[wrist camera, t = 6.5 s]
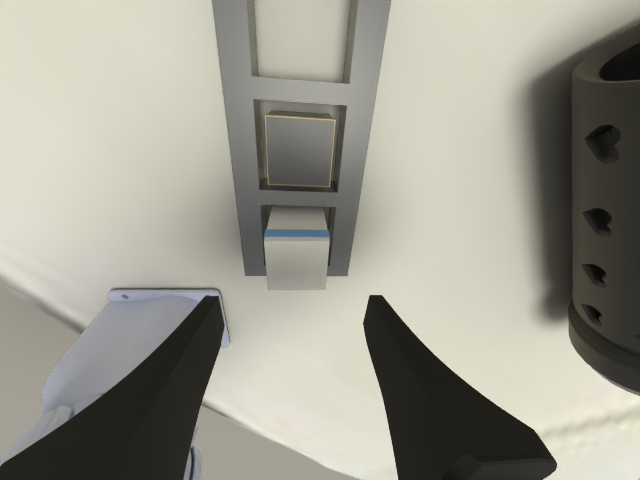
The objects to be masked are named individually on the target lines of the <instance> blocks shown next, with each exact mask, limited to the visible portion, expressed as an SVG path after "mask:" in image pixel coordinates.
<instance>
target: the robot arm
mask: <svg viewBox="0 0 640 480" xmlns="http://www.w3.org/2000/svg"><path fill="white" fill-rule="evenodd" d="M207 294H208V295H207ZM209 295H210V296H209ZM107 297H108V299H109V301H110V302H109V303H108V304H107V305H106V306H105V308H104V309H103V310H102V311H101V312H100V313H99V314H98V316H97V317H96V318H95V319H94V320H93V321H92V322H91V324H90V325H89V326H88V327H87V328H86V329H85V330H84V332H83V333H82V334H81V335H80V336H79V337H78V338H77V340H76V341H75V342H74V343H73V344H72V345H71V346H70V348H69V349H68V350H67V351H66V352H65V353H64V354H63V356H62V357H61V358H60V359H59V361H58V362H57V363H56V365H55V366H54V368H53V370H52V371H51V373H50V375H49V377H48V379H47V382H46V384H45V387H44V390H43V394H42V400H41V404H42V412H43V415H41V416H39V417H38V418H37V419H36V420H35V421H34V422H33V423H32V424H31V425H30V426H29V427H28V428H27V429H26V431H25V432H24V433H23V434H22V435H21V436H20V437H19V438H18V440H17V441H16V442H15V443H14V444H13V445H12V447H11V448H10V449H9V450H8V451H7V452H6V453H5V455H4V456H3V457H2V458H1V459H0V480H202V477H203V466H202V454H201V450H200V448H199V447H198V446H197V445H196V444H194V440H195V436H196V432H197V429H198V427H197V426H196V422H197V417H198V413H199V409H200V406H201V403H202V399H203V396H204V393H205V390H206V387H207V384H208V382H209V379H210V376H211V373H212V370H213V367H214V364H215V361H216V358H217V355H218V352H219V349H220V348H225V347H228V346H229V344H230V340H229V335H228V330H227V325H226V320H225V315H224V310H223V305H222V300H221V295H220V292H219V291H217V290H110V291H109V292H108V293H107ZM363 325H364V331H365V337H366V342H367V346H368V349H369V353H370V356H371V359H372V363H373V366H374V369H375V373H376V376H377V379H378V382H379V386H380V389H381V393H382V396H383V400H384V405H385V410H386V415H387V419H388V424H389V430H390V435H391V440H392V445H393V451H394V456H395V462H396V468H397V474H398V480H543V479H544V478H546V477H547V476H549V475H551V474H552V473H553V472H554V471H555V470H556V468H557V463H556V461H555V459H554V458H553V456H552V455H551V453H550V452H549V450H548V449H547V448H546V446H545V445H544V443H543V442H542V440H541V439H540V437H539V436H538V435H537V433H536V432H535V431H534V430H533V429H532V428H530V427H529V426H527V425H526V424H524V423H523V422H521V421H520V420H518V419H517V418H515V417H513V416H512V415H510V414H509V413H507V412H506V411H504V410H503V409H501V408H500V407H498V406H497V405H496V404H494V403H493V402H492V401H490V400H489V399H487V398H486V397H485V396H483V395H482V394H481V393H479V392H478V391H477V390H475V389H474V388H473V387H471V386H470V385H469V384H468V383H466V382H465V381H464V380H463V379H461V378H460V377H459V376H458V375H457V374H455V373H454V372H453V371H452V370H451V369H449V368H448V367H447V366H446V365H445V364H444V363H443V362H442V361H441V360H440V359H438V358H437V357H436V356H435V355H434V354H433V353H432V352H431V351H430V350H429V349H428V348H427V347H426V346H425V345H424V344H423V343H422V342H421V341H420V340H419V339H418V337H417V336H416V335H415V334H414V333H413V332H412V331H411V330H410V329H409V327H408V326H407V325H406V324H405V323H404V322H403V321H402V319H401V318H400V317H399V316H398V315H397V313H396V312H395V311H394V310H393V308H392V307H391V306H390V305H389V303H388V302H387V301H386V300H385V298H384V297H383V296H382V295H370V296H369V300H368V305H367V309H366V313H365V318H364V322H363Z"/></svg>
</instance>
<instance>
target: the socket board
mask: <svg viewBox="0 0 640 480" xmlns="http://www.w3.org/2000/svg"><path fill="white" fill-rule="evenodd" d="M212 4H213V13H214V21H215V29H216V38H217V46H218V54H219V62H220V71H221V79H222V87H223V95H224V104H225V112H226V120H227V128H228V137H229V145H230V153H231V162H232V170H233V178H234V186H235V195H236V203H237V211H238V219H239V228H240V236H241V244H242V253H243V261H244V269H245V276H267V273H266V260H265V248H264V234H265V229H267V225H266V207H265V205H288V206H320V207H331V212H330V222H329V235H330V240H329V241H330V242H329V254H328V266H327V276H347V275H348V268H349V262H350V256H351V249H352V243H353V237H354V231H355V224H356V218H357V212H358V205H359V199H360V193H361V187H362V180H363V174H364V168H365V161H366V155H367V149H368V143H369V136H370V130H371V124H372V117H373V111H374V105H375V99H376V92H377V86H378V80H379V73H380V67H381V61H382V55H383V48H384V42H385V36H386V29H387V23H388V17H389V11H390V4H391V0H351V4H350V14H349V24H348V35H347V45H346V56H345V66H344V76H343V83H331V82H318V81H306V80H293V79H280V78H267V77H258V61H257V43H256V25H255V7H254V0H212ZM260 100H274V101H288V102H302V103H317V104H331V105H341V108H340V118H339V128H338V139H337V149H336V160H335V170H334V181H330V179H331V168H332V157H333V146H334V134H335V123H336V119H333V118H332V117H331V116H330V115H328V114H313V113H298V112H282V111H271V112H270V113H269V114H265V132H266V153H267V174H268V178H264V170H263V152H262V134H261V116H260Z"/></svg>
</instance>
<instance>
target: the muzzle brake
mask: <svg viewBox="0 0 640 480" xmlns="http://www.w3.org/2000/svg"><path fill="white" fill-rule="evenodd" d="M571 78H572V300H571V302H570V305H569V308H568V318H569V337H570V340H571V343H572V345H573V346H574V348H575V350H576V351H577V353H578V354H579V355H580V356H581V357H582V358H583V360H584V361H585V362H586V363H587V364H589V365H590V366H591V367H592V368H593V369H594V370H595V371H596V372H597V373H598V374H599V375H601V376H602V377H603V378H605V379H606V380H608V381H609V382H611V383H612V384H614V385H616V386H618V387H620V388H622V389H624V390H626V391H628V392H631V393H633V394H636V395H639V396H640V24H639V25H637V26H635V27H633V28H631V29H630V30H628V31H626V32H624V33H622V34H621V35H619V36H617V37H615V38H614V39H612V40H610V41H608V42H606V43H605V44H603V45H601V46H599V47H598V48H596V49H595V50H593V51H592V52H591V53H589V54H588V55H587V56H586V57H585V58H584V59H583V60H582V61H581V62H580V63H579V64H578V65H577V66H576V67H575V68H574V70H573V72H572V74H571Z"/></svg>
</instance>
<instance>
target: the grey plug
mask: <svg viewBox="0 0 640 480" xmlns="http://www.w3.org/2000/svg"><path fill="white" fill-rule="evenodd" d="M329 240H330V235H329V230H327V225H326V220H325V214H324V209H323V207H320V206H288V205H272V208H271V213H270V217H269V221H268V226H267V229H265V234H264V248H265V260H266V273H267V285H268V290H319V289H326V278H327V266H328V254H329V242H330V241H329Z"/></svg>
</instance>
